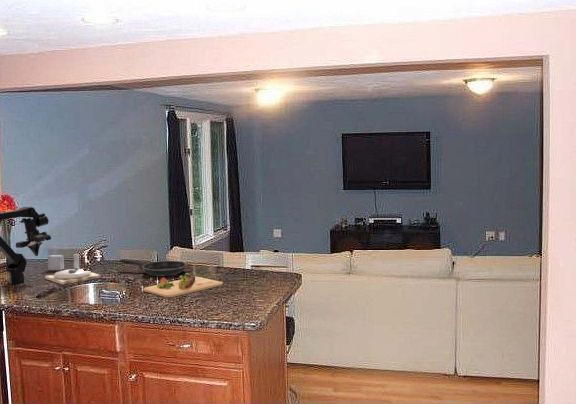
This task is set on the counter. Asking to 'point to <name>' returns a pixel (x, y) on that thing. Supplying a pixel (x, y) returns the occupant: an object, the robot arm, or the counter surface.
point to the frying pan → (158, 267)
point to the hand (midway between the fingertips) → (36, 255)
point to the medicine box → (55, 262)
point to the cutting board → (182, 286)
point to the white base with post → (72, 271)
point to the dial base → (66, 281)
